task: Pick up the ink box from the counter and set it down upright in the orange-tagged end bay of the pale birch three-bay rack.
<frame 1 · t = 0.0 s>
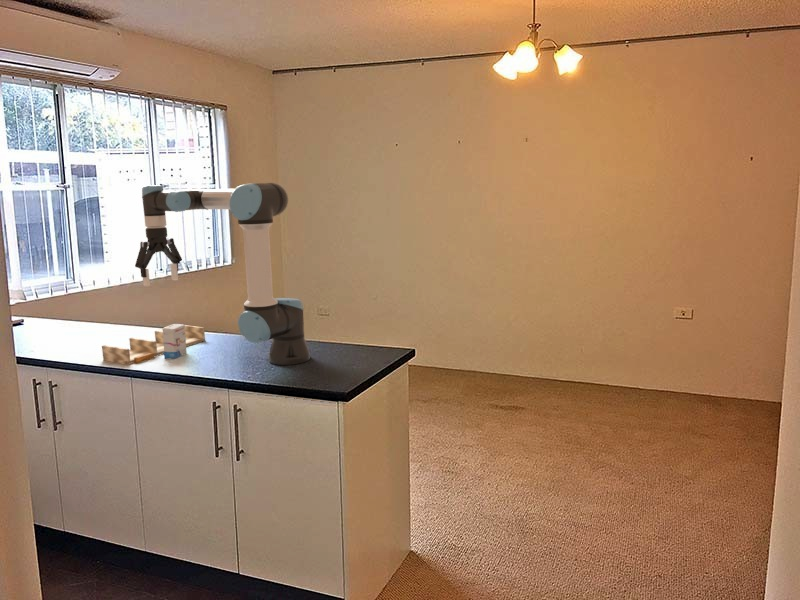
hand: (161, 283, 256), 28 cm above the worktop, fingers open, 13 cm apart
ink box: (176, 356, 259), on the worktop
rack: (156, 350, 268), on the worktop
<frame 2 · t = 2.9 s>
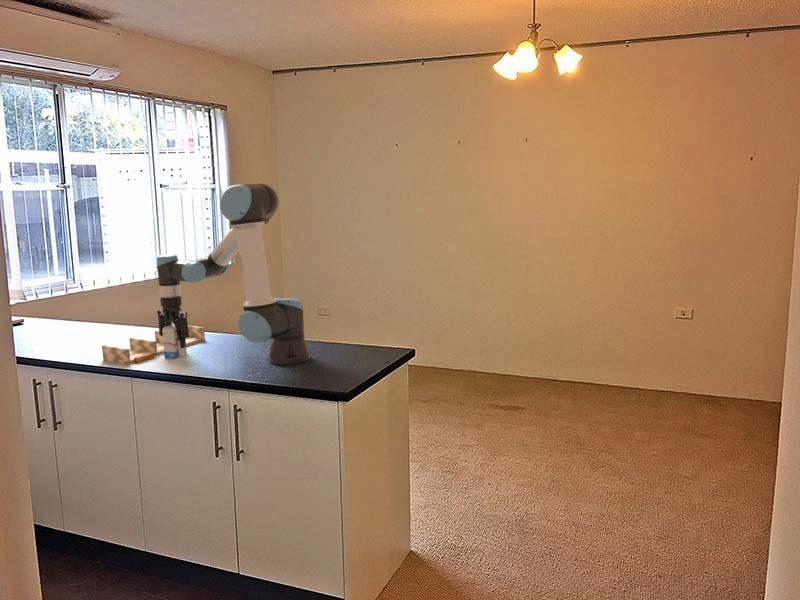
hand: (175, 354, 259), 0 cm above the worktop, fingers closed on ink box, 6 cm apart
ink box: (176, 356, 259), on the worktop, touching gripper
when the fingers open (3 cm above the worktop, at t = 7.9 s): ink box drops 1 cm, resting on rack.
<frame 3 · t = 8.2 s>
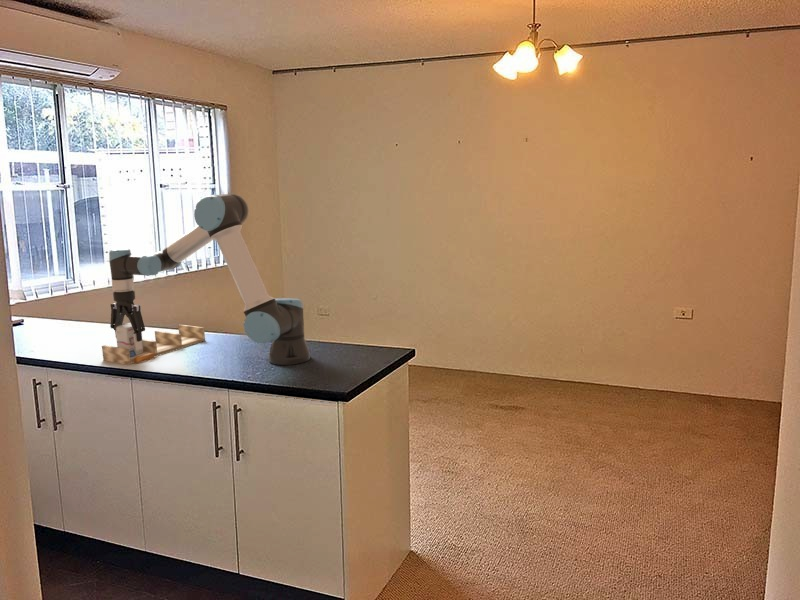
hand: (129, 348, 257), 4 cm above the worktop, fingers open, 9 cm apart
ink box: (131, 355, 257), point 1 cm above the worktop, touching rack
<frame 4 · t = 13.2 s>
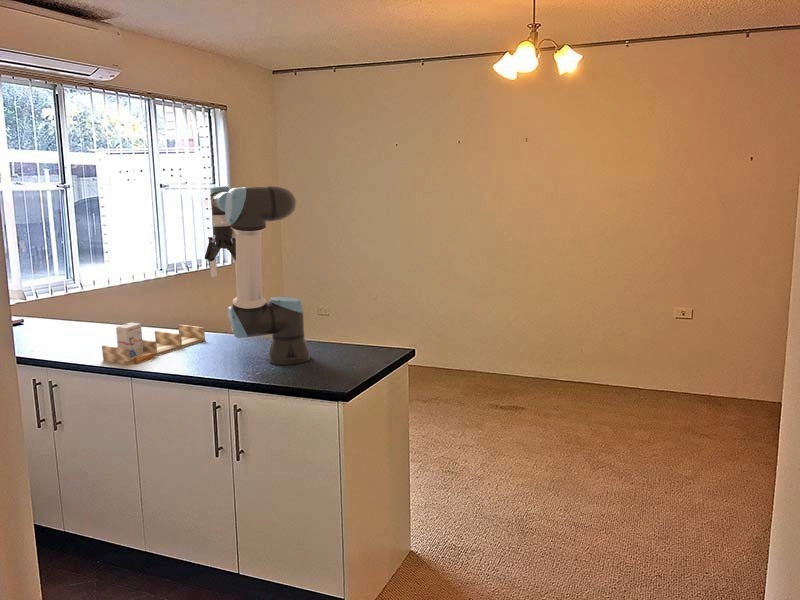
hand: (226, 277, 274), 27 cm above the worktop, fingers open, 13 cm apart
nothing on the worktop moved.
at the end: ink box inside the target area on the rack (0.4 cm from its centre), point 1.0 cm above the rack's base; ink box tilted 0°; the gripper is holding nothing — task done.
